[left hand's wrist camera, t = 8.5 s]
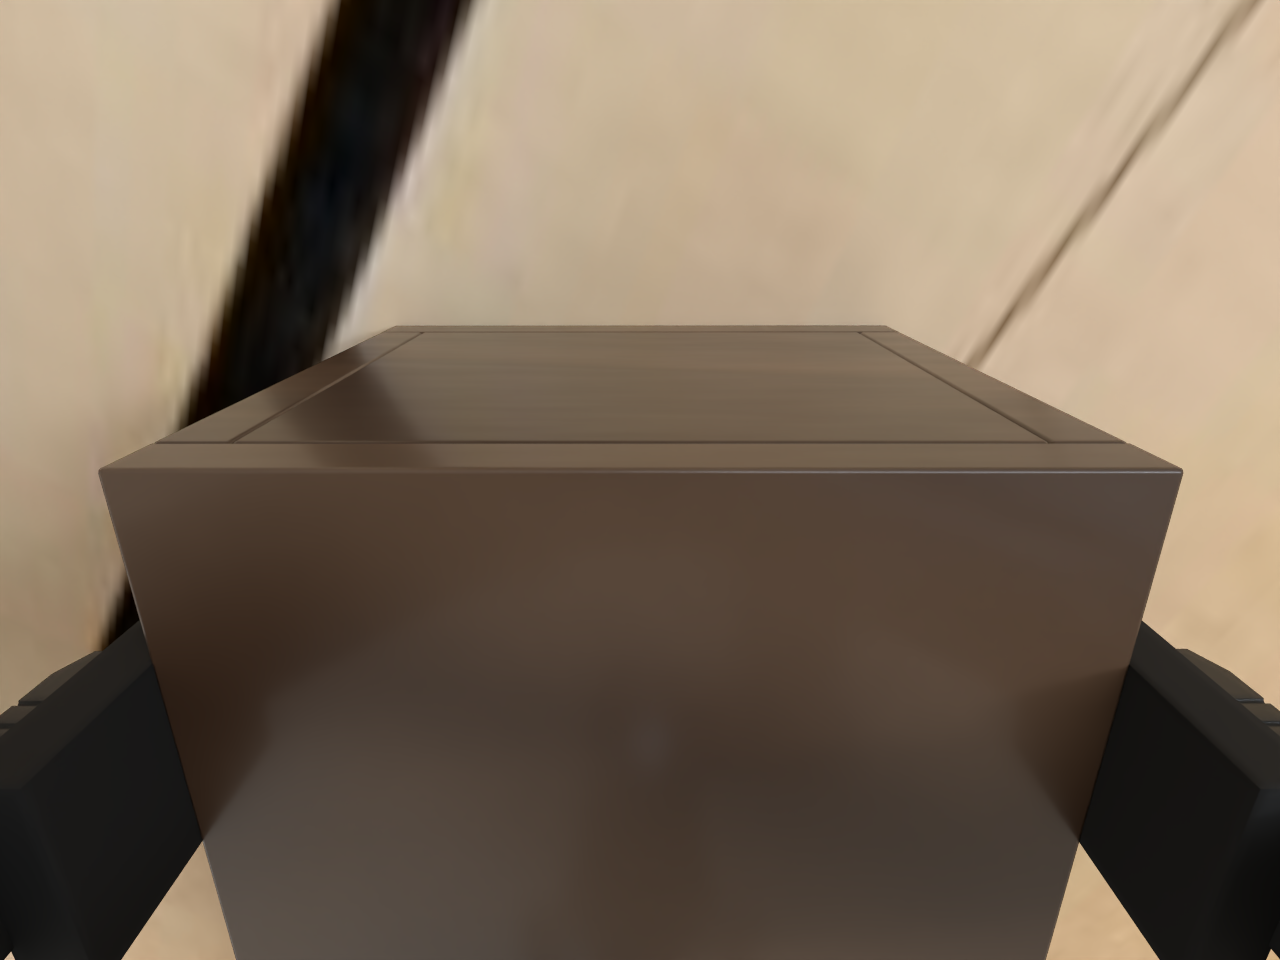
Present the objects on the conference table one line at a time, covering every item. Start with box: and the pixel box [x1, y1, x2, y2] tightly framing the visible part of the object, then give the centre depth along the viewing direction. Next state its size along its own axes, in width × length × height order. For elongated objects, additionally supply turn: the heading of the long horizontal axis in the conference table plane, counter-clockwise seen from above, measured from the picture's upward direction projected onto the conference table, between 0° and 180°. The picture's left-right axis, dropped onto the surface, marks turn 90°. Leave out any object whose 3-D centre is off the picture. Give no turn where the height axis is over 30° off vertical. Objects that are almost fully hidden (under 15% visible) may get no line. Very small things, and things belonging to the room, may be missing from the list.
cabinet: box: [98, 326, 1183, 960], centre depth 16 cm, size 22×11×10 cm, turn 0°
